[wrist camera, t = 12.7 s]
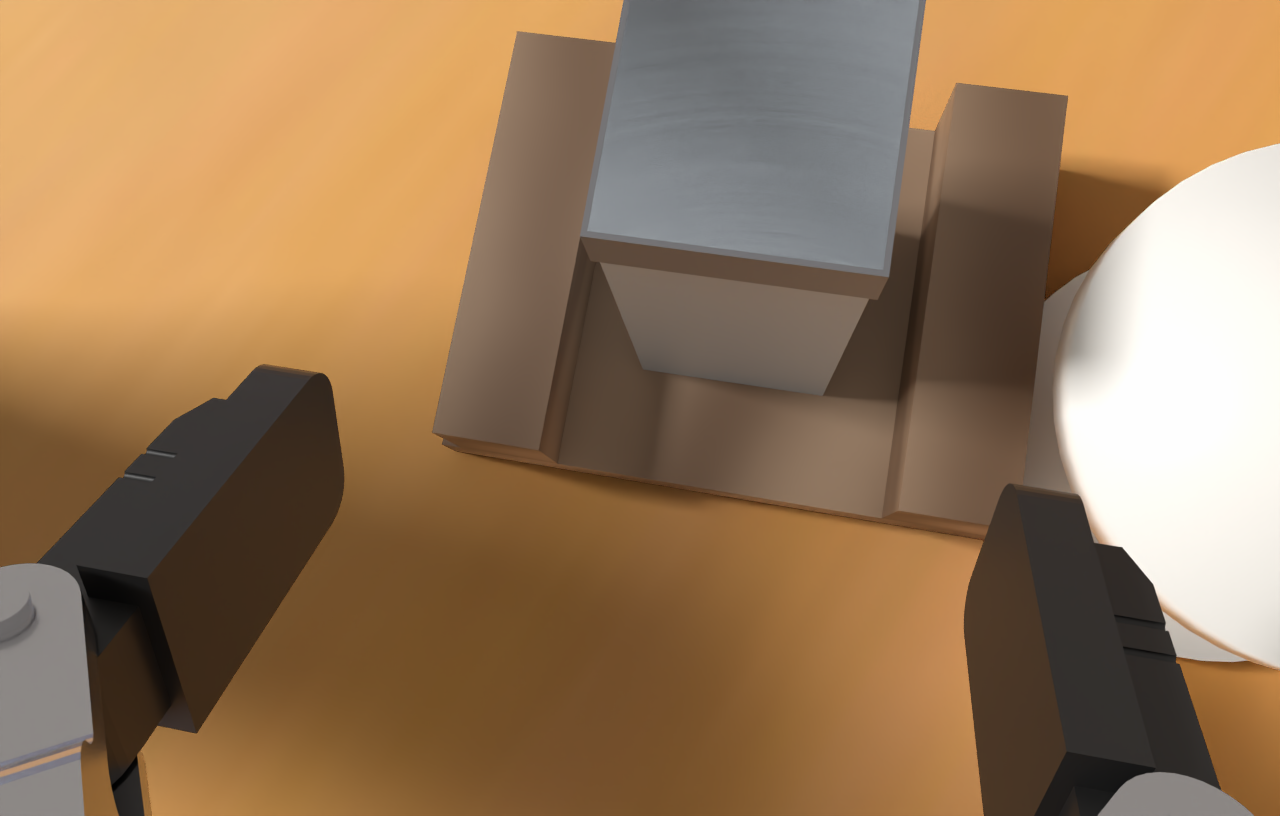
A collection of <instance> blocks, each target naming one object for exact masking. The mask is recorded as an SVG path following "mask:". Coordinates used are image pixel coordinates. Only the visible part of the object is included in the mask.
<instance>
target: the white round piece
mask: <svg viewBox="0 0 1280 816" xmlns="http://www.w3.org/2000/svg"><path fill="white" fill-rule="evenodd" d="M1023 485H1024V486H1030V487H1037V488H1043V489H1049V490H1056V491H1062V492H1069V493H1075V494H1078V495H1079V496H1080V497H1081V499H1082V501H1083V504H1084V508H1085V511H1086V515H1087V519H1088V522H1089V526H1090V529H1091V533H1092V537H1093V540H1094V543H1099V544H1105V545H1112V546H1118V547H1123V549H1124V550H1125V551H1126V552H1127V553H1128V555H1129V556H1130V557H1131V558H1132V559H1133V561H1134V562H1135V563H1136V564H1137V565H1138V567H1139V568H1140V569H1141V570H1142V571H1143V573H1144V574H1145V575H1146V576H1147V577H1148V579H1149V580H1150V581H1151V582H1152V583H1153V585H1154V588H1155V591H1156V594H1157V597H1158V600H1159V603H1160V606H1161V609H1162V612H1163V615H1164V618H1165V621H1166V625H1165V631H1169V634H1170V637H1171V640H1172V643H1173V646H1174V649H1175V652H1176V655H1177V656H1176V657H1182V658H1188V659H1194V660H1201V661H1221V662H1237V661H1251V662H1253V663H1256V664H1259V665H1262V666H1266V667H1269V668H1273V669H1276V670H1279V671H1280V144H1275V145H1271V146H1267V147H1264V148H1260V149H1256V150H1252V151H1248V152H1244V153H1241V154H1239V155H1236V156H1234V157H1231V158H1229V159H1226V160H1223V161H1221V162H1218V163H1216V164H1213V165H1211V166H1209V167H1207V168H1205V169H1204V170H1202V171H1200V172H1198V173H1196V174H1194V175H1193V176H1191V177H1189V178H1187V179H1185V180H1183V181H1182V182H1180V183H1179V184H1178V185H1176V186H1175V187H1173V188H1172V189H1171V190H1169V191H1168V192H1167V193H1165V194H1164V195H1163V196H1161V197H1160V198H1158V199H1157V200H1156V201H1154V202H1153V203H1152V204H1151V205H1150V206H1149V207H1148V208H1147V209H1146V210H1145V211H1143V212H1142V213H1141V214H1140V215H1139V216H1138V217H1137V218H1136V219H1135V220H1134V221H1132V222H1131V223H1130V224H1129V225H1128V226H1127V227H1126V228H1125V229H1124V230H1123V231H1122V232H1121V233H1120V234H1119V235H1118V236H1117V237H1116V238H1115V239H1114V240H1113V241H1112V242H1111V243H1110V244H1109V245H1108V247H1107V248H1106V249H1105V250H1104V252H1103V253H1102V254H1101V256H1100V257H1099V258H1098V259H1097V261H1096V262H1095V263H1094V264H1093V266H1092V267H1091V269H1090V270H1088V271H1086V272H1084V273H1082V274H1081V275H1079V276H1077V277H1075V278H1074V279H1072V280H1071V281H1070V282H1068V283H1067V284H1066V285H1064V286H1063V287H1061V288H1060V289H1059V290H1057V291H1056V292H1055V293H1053V294H1052V295H1051V296H1050V297H1049V298H1048V299H1047V300H1046V301H1045V302H1044V307H1043V315H1042V324H1041V333H1040V341H1039V350H1038V359H1037V367H1036V376H1035V384H1034V393H1033V402H1032V410H1031V419H1030V428H1029V436H1028V445H1027V453H1026V462H1025V471H1024V479H1023Z"/></svg>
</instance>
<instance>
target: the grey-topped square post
mask: <svg viewBox="0 0 1280 816" xmlns="http://www.w3.org/2000/svg"><path fill="white" fill-rule="evenodd" d="M925 3H926V0H624V1H623V7H622V12H621V18H620V23H619V28H618V34H617V39H616V44H615V50H614V55H613V61H612V66H611V71H610V77H609V82H608V87H607V93H606V98H605V104H604V109H603V114H602V120H601V125H600V130H599V136H598V141H597V147H596V152H595V157H594V163H593V168H592V173H591V179H590V184H589V190H588V195H587V200H586V206H585V211H584V216H583V222H582V227H581V233H580V238H581V240H582V242H583V245H584V247H585V249H586V252H587V254H588V256H589V259H590V261H594V262H600V264H601V266H602V269H603V271H604V274H605V276H606V279H607V281H608V284H609V286H610V289H611V291H612V294H613V296H614V299H615V301H616V304H617V306H618V309H619V311H620V314H621V316H622V319H623V321H624V324H625V326H626V328H627V331H628V333H629V336H630V338H631V341H632V343H633V346H634V348H635V351H636V353H637V356H638V358H639V361H640V363H641V366H642V368H643V370H650V371H657V372H664V373H670V374H677V375H684V376H691V377H698V378H704V379H711V380H718V381H725V382H732V383H738V384H745V385H752V386H759V387H765V388H772V389H779V390H786V391H793V392H799V393H806V394H813V395H820V396H823V394H824V392H825V390H826V388H827V386H828V384H829V381H830V379H831V377H832V375H833V373H834V371H835V369H836V367H837V365H838V363H839V361H840V358H841V356H842V354H843V352H844V350H845V348H846V346H847V344H848V342H849V340H850V338H851V336H852V333H853V331H854V329H855V327H856V325H857V323H858V321H859V319H860V317H861V315H862V313H863V310H864V308H865V306H866V304H867V302H868V300H869V299H874V300H878V298H879V296H880V294H881V292H882V290H883V288H884V286H885V284H886V282H887V280H888V278H889V273H890V265H891V258H892V250H893V243H894V235H895V228H896V220H897V213H898V205H899V198H900V190H901V183H902V175H903V168H904V160H905V153H906V145H907V138H908V130H909V123H910V115H911V108H912V100H913V93H914V85H915V78H916V70H917V63H918V55H919V48H920V40H921V33H922V25H923V18H924V10H925Z"/></svg>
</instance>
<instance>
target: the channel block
mask: <svg viewBox="0 0 1280 816" xmlns="http://www.w3.org/2000/svg"><path fill="white" fill-rule="evenodd" d="M615 44H616V43H612V42H604V41H595V40H587V39H578V38H570V37H561V36H552V35H544V34H535V33H527V32H518V31H517V35H516V40H515V45H514V49H513V54H512V59H511V63H510V68H509V73H508V78H507V82H506V87H505V92H504V96H503V101H502V106H501V111H500V115H499V120H498V125H497V129H496V134H495V139H494V144H493V148H492V153H491V158H490V162H489V167H488V172H487V177H486V181H485V186H484V191H483V195H482V200H481V205H480V210H479V214H478V219H477V224H476V228H475V233H474V238H473V243H472V247H471V252H470V257H469V261H468V266H467V271H466V276H465V280H464V285H463V290H462V294H461V299H460V304H459V309H458V313H457V318H456V323H455V327H454V332H453V337H452V342H451V346H450V351H449V356H448V360H447V365H446V370H445V375H444V379H443V384H442V389H441V393H440V398H439V403H438V408H437V412H436V417H435V422H434V426H433V431H432V433H434V434H436V435H438V436H440V437H442V438H443V442H442V445H444V446H446V447H448V448H450V449H452V450H454V451H460V452H465V453H471V454H477V455H483V456H489V457H495V458H501V459H507V460H513V461H519V462H525V463H531V464H537V465H543V466H548V467H554V468H560V469H566V470H572V471H578V472H584V473H590V474H596V475H602V476H608V477H614V478H620V479H625V480H631V481H637V482H643V483H649V484H655V485H661V486H667V487H673V488H679V489H685V490H691V491H697V492H702V493H708V494H714V495H720V496H726V497H732V498H738V499H744V500H750V501H756V502H762V503H768V504H774V505H780V506H785V507H791V508H797V509H803V510H809V511H815V512H821V513H827V514H833V515H839V516H845V517H851V518H857V519H862V520H868V521H874V522H880V523H886V524H892V525H898V526H904V527H910V528H916V529H922V530H928V531H934V532H940V533H945V534H951V535H957V536H963V537H969V538H975V539H981V540H984V539H985V537H986V534H987V531H988V528H989V525H990V523H991V520H992V517H993V514H994V511H995V508H996V506H997V503H998V500H999V497H1000V495H1001V493H1002V491H1003V489H1004V488H1005V486H1006V485H1007V484H1009V483H1011V484H1018V485H1023V479H1024V471H1025V462H1026V453H1027V445H1028V436H1029V428H1030V419H1031V410H1032V402H1033V393H1034V384H1035V376H1036V367H1037V359H1038V350H1039V341H1040V333H1041V324H1042V315H1043V307H1044V298H1045V290H1046V281H1047V272H1048V264H1049V255H1050V246H1051V238H1052V229H1053V221H1054V212H1055V203H1056V195H1057V186H1058V177H1059V169H1060V160H1061V151H1062V143H1063V134H1064V126H1065V117H1066V108H1067V100H1068V96H1064V95H1056V94H1047V93H1039V92H1030V91H1022V90H1013V89H1005V88H996V87H988V86H979V85H971V84H962V83H956V85H955V87H954V90H953V92H952V94H951V96H950V98H949V101H948V103H947V105H946V107H945V110H944V112H943V114H942V116H941V119H940V121H939V123H938V125H937V128H936V130H935V131H930V130H922V129H914V128H909V130H908V138H907V145H906V153H905V160H904V168H903V175H902V183H901V190H900V198H899V205H898V213H897V220H896V228H895V235H894V243H893V250H892V258H891V265H890V273H889V278H888V280H887V282H886V284H885V286H884V288H883V290H882V292H881V294H880V296H879V298H878V300H874V299H869V300H868V302H867V304H866V306H865V308H864V310H863V313H862V315H861V317H860V319H859V321H858V323H857V325H856V327H855V329H854V331H853V333H852V336H851V338H850V340H849V342H848V344H847V346H846V348H845V350H844V352H843V354H842V356H841V358H840V361H839V363H838V365H837V367H836V369H835V371H834V373H833V375H832V377H831V379H830V381H829V384H828V386H827V388H826V390H825V392H824V394H823V396H820V395H813V394H806V393H799V392H793V391H786V390H779V389H772V388H765V387H759V386H752V385H745V384H738V383H732V382H725V381H718V380H711V379H704V378H698V377H691V376H684V375H677V374H670V373H664V372H657V371H650V370H643V368H642V366H641V363H640V361H639V358H638V356H637V353H636V351H635V348H634V346H633V343H632V341H631V338H630V336H629V333H628V331H627V328H626V326H625V324H624V321H623V319H622V316H621V314H620V311H619V309H618V306H617V304H616V301H615V299H614V296H613V294H612V291H611V289H610V286H609V284H608V281H607V279H606V276H605V274H604V271H603V269H602V266H601V264H600V262H594V261H590V259H589V256H588V254H587V252H586V249H585V247H584V245H583V242H582V240H581V238H580V233H581V227H582V222H583V216H584V211H585V206H586V200H587V195H588V190H589V184H590V179H591V173H592V168H593V163H594V157H595V152H596V147H597V141H598V136H599V130H600V125H601V120H602V114H603V109H604V104H605V98H606V93H607V87H608V82H609V77H610V71H611V66H612V61H613V55H614V50H615Z"/></svg>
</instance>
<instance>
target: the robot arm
mask: <svg viewBox="0 0 1280 816" xmlns="http://www.w3.org/2000/svg"><path fill="white" fill-rule="evenodd" d="M343 489H344V467H343V460H342V453H341V446H340V439H339V432H338V426H337V419H336V412H335V405H334V398H333V391H332V386H331V383H330V381H329V379H328V377H327V376H326V375H325V374H323V373H317V372H311V371H304V370H298V369H292V368H285V367H279V366H272V365H265V364H263V365H260V366H258V367H256V368H255V369H254V370H253V371H252V372H251V373H250V374H249V375H248V377H247V378H246V379H245V380H244V381H243V382H242V383H241V384H240V385H239V386H238V388H237V389H236V390H235V391H234V392H233V393H232V394H231V395H230V396H229V397H228V399H227V400H223V399H217V398H212V399H211V400H209V401H207V402H205V403H204V404H202V405H200V406H198V407H196V408H195V409H193V410H191V411H189V412H187V413H186V414H184V415H182V416H180V417H178V418H177V419H175V420H173V421H172V422H171V424H170V425H169V426H168V427H167V428H166V429H165V430H164V431H163V432H162V433H161V434H160V435H159V436H158V437H157V438H156V439H155V440H154V441H153V442H152V443H151V444H150V445H149V447H148V448H147V452H146V454H141V455H140V456H139V457H138V458H137V459H136V460H135V461H134V462H133V463H132V464H131V465H130V466H129V467H128V468H127V470H126V471H125V475H124V477H123V478H118V479H117V480H116V481H115V482H114V483H113V484H112V485H111V486H110V487H109V488H108V489H107V490H106V491H105V493H104V494H103V495H102V496H101V497H100V498H99V499H98V500H97V501H96V502H95V503H94V504H93V505H92V506H91V507H90V508H89V509H88V510H87V511H86V512H85V513H84V514H83V515H82V517H81V518H80V519H79V520H78V521H77V522H76V523H75V524H74V525H73V526H72V527H71V528H70V529H69V530H68V531H67V532H66V533H65V534H64V535H63V536H62V537H61V538H60V540H59V541H58V542H57V543H56V544H55V545H54V546H53V547H52V548H51V549H50V550H49V551H48V552H47V553H46V554H45V555H44V556H43V557H42V558H41V559H40V560H39V561H38V563H36V564H33V563H26V564H15V565H9V566H4V567H0V816H152V811H151V803H150V796H149V788H148V781H147V773H146V765H145V761H144V757H143V754H142V752H141V749H142V747H143V746H144V744H145V743H146V741H147V740H148V738H149V737H150V736H151V734H152V733H153V731H154V730H155V728H156V727H157V726H162V727H167V728H172V729H177V730H182V731H187V732H192V733H197V732H198V731H199V729H200V727H201V726H202V724H203V723H204V721H205V720H206V718H207V717H208V715H209V714H210V712H211V710H212V709H213V707H214V706H215V704H216V703H217V701H218V700H219V698H220V696H221V695H222V693H223V692H224V690H225V689H226V687H227V686H228V684H229V683H230V681H231V679H232V678H233V676H234V675H235V673H236V672H237V670H238V669H239V667H240V665H241V664H242V662H243V661H244V659H245V658H246V656H247V655H248V653H249V651H250V650H251V648H252V647H253V645H254V644H255V642H256V641H257V639H258V638H259V636H260V634H261V633H262V631H263V630H264V628H265V627H266V625H267V624H268V622H269V620H270V619H271V617H272V616H273V614H274V613H275V611H276V610H277V608H278V606H279V605H280V603H281V602H282V600H283V599H284V597H285V596H286V594H287V593H288V591H289V589H290V588H291V586H292V585H293V583H294V582H295V580H296V579H297V577H298V575H299V574H300V572H301V571H302V569H303V568H304V566H305V565H306V563H307V561H308V560H309V558H310V557H311V555H312V554H313V552H314V551H315V549H316V548H317V546H318V544H319V543H320V541H321V540H322V538H323V537H324V535H325V534H326V532H327V530H328V529H329V527H330V526H331V524H332V523H333V521H334V519H335V517H336V515H337V512H338V510H339V507H340V503H341V500H342V495H343ZM1165 625H1166V621H1165V618H1164V615H1163V612H1162V609H1161V606H1160V603H1159V600H1158V597H1157V594H1156V591H1155V588H1154V585H1153V583H1152V582H1151V581H1150V580H1149V579H1148V577H1147V576H1146V575H1145V574H1144V573H1143V571H1142V570H1141V569H1140V568H1139V567H1138V565H1137V564H1136V563H1135V562H1134V561H1133V559H1132V558H1131V557H1130V556H1129V555H1128V553H1127V552H1126V551H1125V550H1124V549H1123V547H1118V546H1112V545H1105V544H1099V543H1094V540H1093V537H1092V533H1091V529H1090V526H1089V522H1088V519H1087V515H1086V511H1085V508H1084V504H1083V501H1082V499H1081V497H1080V496H1079V495H1078V494H1075V493H1069V492H1062V491H1056V490H1049V489H1043V488H1037V487H1030V486H1024V485H1018V484H1011V483H1009V484H1007V485H1006V486H1005V488H1004V489H1003V491H1002V493H1001V495H1000V497H999V500H998V503H997V506H996V508H995V511H994V514H993V517H992V520H991V523H990V525H989V528H988V531H987V534H986V537H985V539H984V542H983V545H982V548H981V551H980V554H979V556H978V559H977V562H976V565H975V568H974V570H973V573H972V576H971V579H970V582H969V586H968V591H967V596H966V602H965V611H964V637H965V646H966V656H967V665H968V674H969V683H970V693H971V702H972V711H973V720H974V729H975V739H976V748H977V757H978V766H979V775H980V785H981V794H982V803H983V812H984V816H1254V815H1253V814H1252V813H1251V812H1250V811H1249V810H1248V809H1246V808H1245V807H1244V806H1243V805H1241V804H1240V803H1239V802H1237V801H1236V800H1235V799H1234V798H1232V797H1231V796H1229V795H1227V794H1226V793H1224V792H1222V790H1221V788H1220V786H1219V783H1218V780H1217V777H1216V774H1215V771H1214V768H1213V765H1212V761H1211V758H1210V755H1209V752H1208V749H1207V746H1206V743H1205V740H1204V737H1203V734H1202V731H1201V728H1200V725H1199V722H1198V719H1197V716H1196V713H1195V710H1194V707H1193V704H1192V701H1191V698H1190V695H1189V691H1188V688H1187V685H1186V682H1185V679H1184V676H1183V673H1182V670H1181V667H1180V664H1177V663H1176V656H1177V655H1176V652H1175V649H1174V646H1173V643H1172V640H1171V637H1170V634H1169V631H1165Z"/></svg>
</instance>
